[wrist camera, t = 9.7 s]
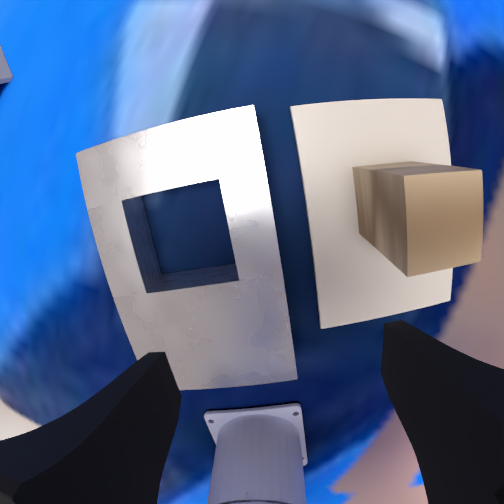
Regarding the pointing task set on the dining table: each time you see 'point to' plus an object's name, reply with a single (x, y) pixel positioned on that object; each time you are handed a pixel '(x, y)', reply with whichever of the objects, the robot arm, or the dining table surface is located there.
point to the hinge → (4, 69)
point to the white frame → (198, 280)
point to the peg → (421, 214)
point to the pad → (345, 208)
